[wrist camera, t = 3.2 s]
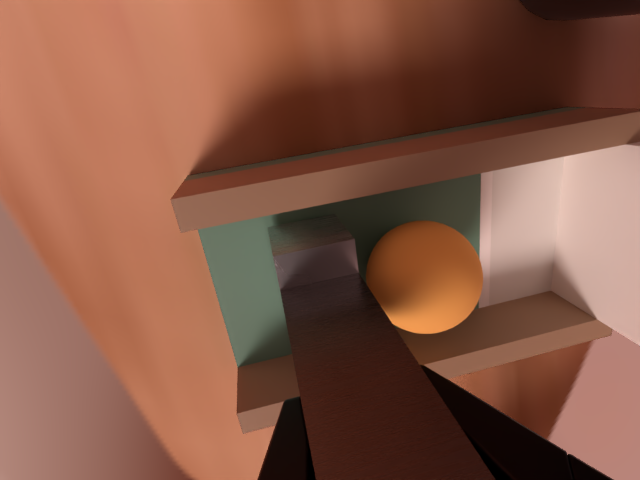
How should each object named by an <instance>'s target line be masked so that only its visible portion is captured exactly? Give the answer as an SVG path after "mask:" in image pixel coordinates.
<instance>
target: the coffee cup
mask: <svg viewBox="0 0 640 480" xmlns="http://www.w3.org/2000/svg"><path fill="white" fill-rule="evenodd" d="M520 1H521V2H522V3H523V5H524V6H525V7H526V8H527V9H528V10H529V11H530V12H532V13H534V14H536V15H538V16H540V17H542V18H544V19H546V20H576V19H588V18H600V17H611V16H623V15H635V14H640V0H520Z"/></svg>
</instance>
